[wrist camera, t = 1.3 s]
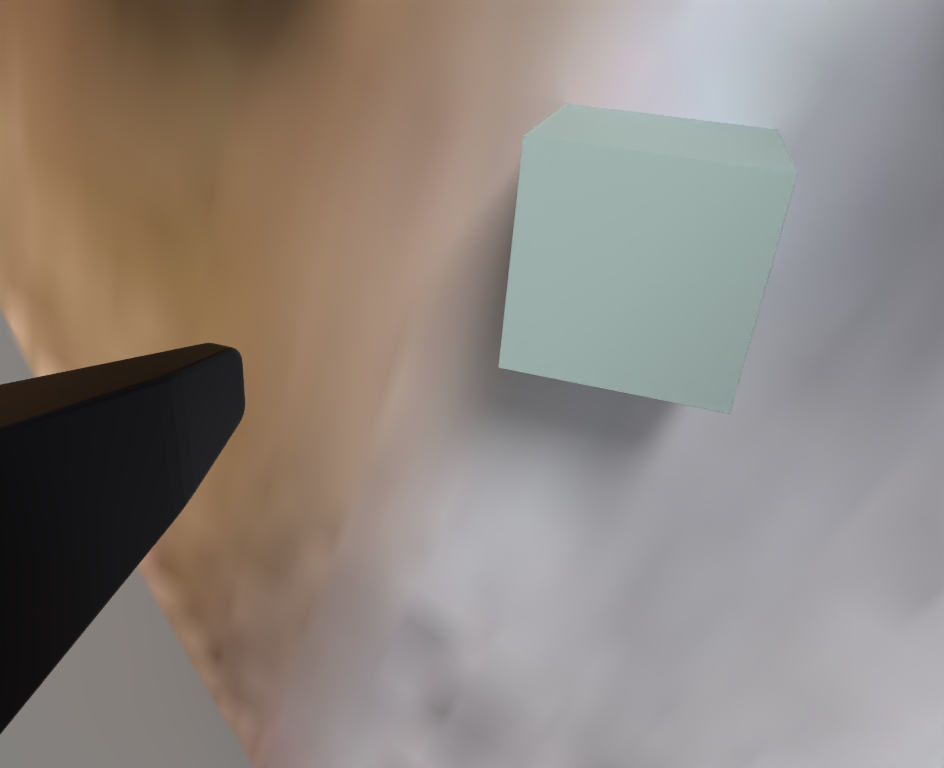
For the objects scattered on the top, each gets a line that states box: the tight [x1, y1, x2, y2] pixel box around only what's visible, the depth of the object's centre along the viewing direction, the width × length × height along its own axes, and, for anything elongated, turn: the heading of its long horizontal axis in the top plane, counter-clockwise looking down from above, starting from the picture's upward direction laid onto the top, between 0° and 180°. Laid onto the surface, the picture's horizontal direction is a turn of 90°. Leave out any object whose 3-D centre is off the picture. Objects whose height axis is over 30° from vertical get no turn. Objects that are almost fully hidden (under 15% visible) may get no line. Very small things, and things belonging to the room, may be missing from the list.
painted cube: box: [498, 103, 798, 414], centre depth 17 cm, size 5×5×5 cm
